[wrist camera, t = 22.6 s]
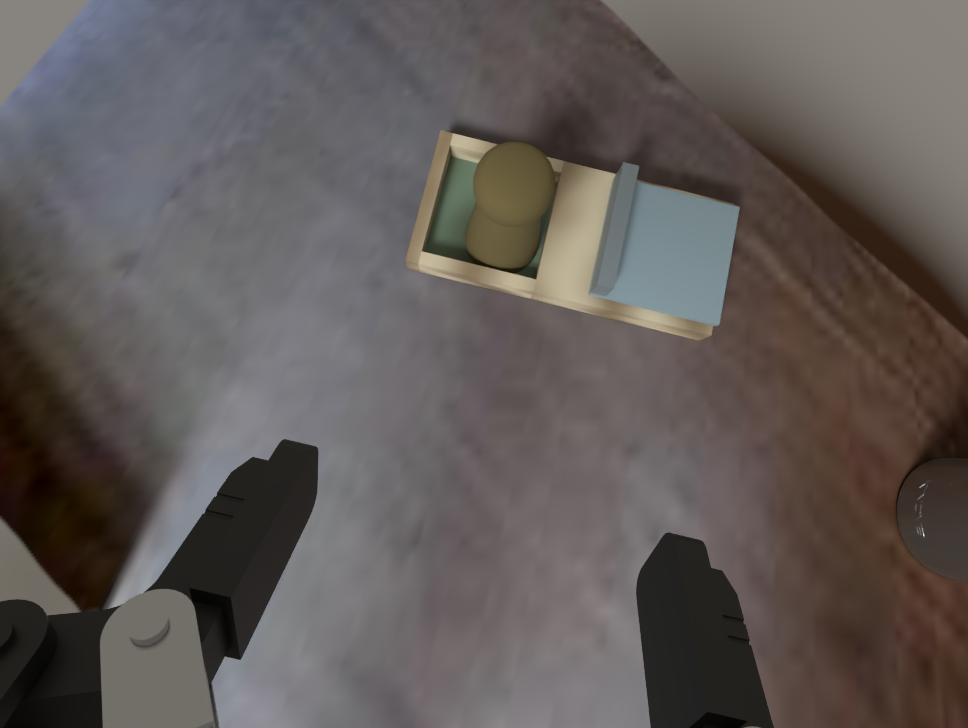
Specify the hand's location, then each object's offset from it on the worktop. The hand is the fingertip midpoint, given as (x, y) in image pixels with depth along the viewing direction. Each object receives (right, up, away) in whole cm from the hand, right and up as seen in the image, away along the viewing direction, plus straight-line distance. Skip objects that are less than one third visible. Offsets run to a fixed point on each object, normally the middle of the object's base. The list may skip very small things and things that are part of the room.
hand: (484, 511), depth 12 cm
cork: (+1, +13, +31) cm, 34 cm away
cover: (+14, +12, +29) cm, 34 cm away
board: (+7, +13, +31) cm, 35 cm away
